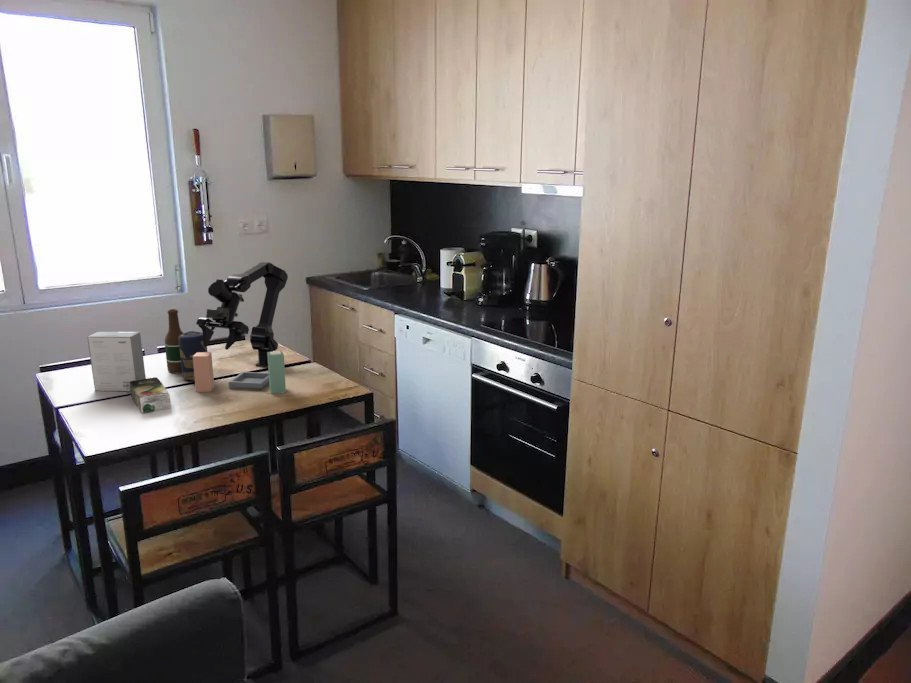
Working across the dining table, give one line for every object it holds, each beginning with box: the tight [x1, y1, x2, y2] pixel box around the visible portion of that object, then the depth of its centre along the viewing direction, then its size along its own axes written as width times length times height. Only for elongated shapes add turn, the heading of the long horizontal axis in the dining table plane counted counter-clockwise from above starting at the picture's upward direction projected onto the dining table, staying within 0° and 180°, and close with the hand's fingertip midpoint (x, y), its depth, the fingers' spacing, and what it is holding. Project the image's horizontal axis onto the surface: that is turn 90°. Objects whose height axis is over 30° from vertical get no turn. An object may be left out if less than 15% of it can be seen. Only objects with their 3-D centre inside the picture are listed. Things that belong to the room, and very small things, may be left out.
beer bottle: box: [164, 308, 184, 374], centre depth 259 cm, size 8×8×24 cm
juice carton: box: [129, 377, 172, 414], centre depth 227 cm, size 20×10×6 cm, turn 35°
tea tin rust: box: [193, 351, 215, 393], centre depth 240 cm, size 5×5×13 cm
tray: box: [228, 371, 269, 391], centre depth 247 cm, size 12×12×2 cm
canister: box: [179, 330, 208, 381], centre depth 251 cm, size 10×10×18 cm
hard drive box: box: [87, 331, 147, 392], centre depth 239 cm, size 16×8×20 cm, turn 89°
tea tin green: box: [267, 350, 287, 395], centre depth 239 cm, size 5×5×14 cm
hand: (215, 347), depth 240 cm, fingers open, 9 cm apart
